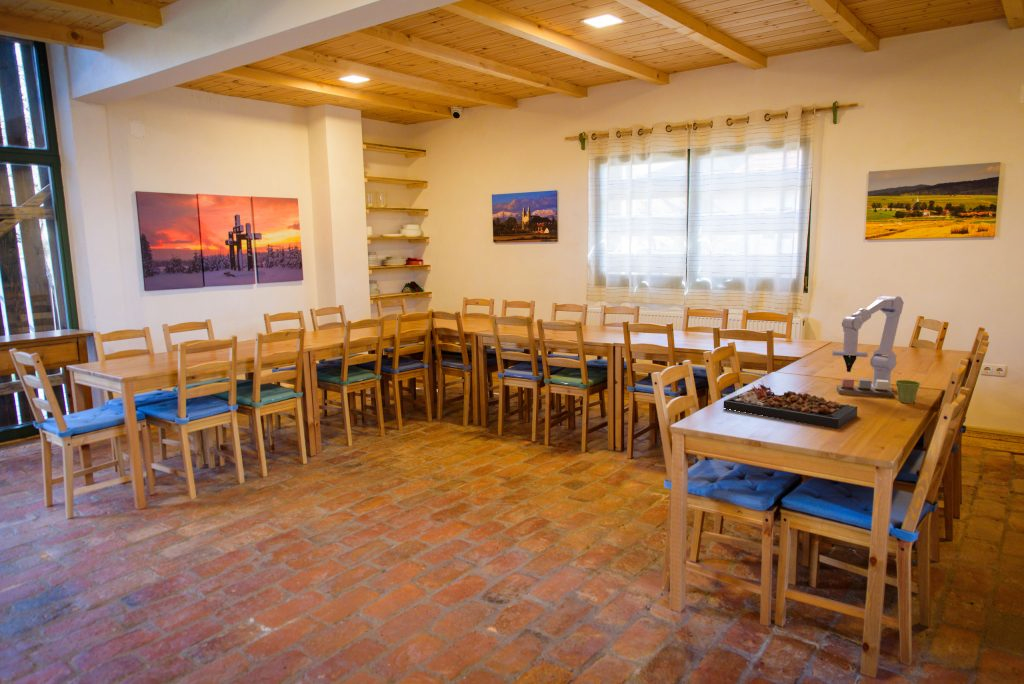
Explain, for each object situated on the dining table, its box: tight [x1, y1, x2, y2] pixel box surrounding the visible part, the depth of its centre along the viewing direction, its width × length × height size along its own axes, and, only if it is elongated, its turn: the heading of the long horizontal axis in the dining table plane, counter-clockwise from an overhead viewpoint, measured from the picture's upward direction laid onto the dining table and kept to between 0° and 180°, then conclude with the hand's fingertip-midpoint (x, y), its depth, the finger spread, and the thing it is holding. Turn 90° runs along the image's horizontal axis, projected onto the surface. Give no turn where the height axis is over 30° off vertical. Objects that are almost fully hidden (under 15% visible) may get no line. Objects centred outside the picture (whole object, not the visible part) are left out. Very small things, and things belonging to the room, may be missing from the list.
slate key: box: [858, 378, 873, 389], centre depth 293 cm, size 5×5×4 cm
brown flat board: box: [836, 384, 895, 399], centre depth 294 cm, size 11×22×2 cm, turn 68°
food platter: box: [723, 381, 858, 430], centre depth 262 cm, size 45×25×10 cm, turn 47°
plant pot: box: [895, 379, 922, 404], centre depth 277 cm, size 9×9×9 cm
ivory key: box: [876, 379, 889, 390], centre depth 290 cm, size 5×5×4 cm
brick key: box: [841, 377, 855, 387], centre depth 296 cm, size 5×5×4 cm
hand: (848, 371), depth 295 cm, fingers closed
